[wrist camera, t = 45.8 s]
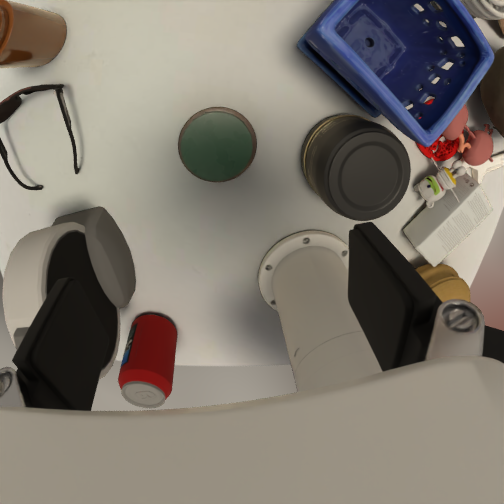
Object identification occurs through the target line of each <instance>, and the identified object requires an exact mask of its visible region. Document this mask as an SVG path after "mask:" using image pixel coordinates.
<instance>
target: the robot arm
mask: <svg viewBox="0 0 504 504" xmlns="http://www.w3.org/2000/svg"><path fill="white" fill-rule="evenodd" d="M304 238H305V239H304ZM258 281H259V288H260V292H261V294H262V296H263V298H264V300H265V301H266V302H267V304H268V305H270V306H271V307H272V308H273V309H275V310H277V311H278V313H279V317H280V321H281V325H282V329H283V334H284V338H285V342H286V346H287V350H288V354H289V358H290V362H291V366H292V371H293V375H294V378H295V383H296V387H297V391H298V392H296V393H291V394H286V395H281V396H275V397H269V398H263V399H257V400H251V401H243V402H236V403H229V404H221V405H212V406H202V407H192V408H180V409H164V410H144V411H91V407H92V404H93V399H94V396H95V392H96V388H97V384H98V381H99V377H100V373H101V370H102V366H103V363H104V359H105V356H106V353H107V349H108V346H109V336H108V334H107V332H106V330H105V329H104V327H103V325H102V323H101V322H100V320H99V318H98V316H97V314H96V313H95V311H94V309H93V307H92V305H91V303H90V301H89V300H88V298H87V296H86V294H85V292H84V290H83V288H82V286H81V284H80V282H79V281H78V280H75V279H74V278H73V277H67V278H62V279H58V280H57V281H56V283H55V284H54V286H53V288H52V289H51V291H50V293H49V294H48V296H47V297H46V299H45V301H44V302H43V304H42V306H41V308H40V309H39V311H38V313H37V314H36V316H35V318H34V320H33V322H32V323H31V325H30V327H29V329H28V331H27V332H26V334H25V336H24V338H23V340H22V342H21V344H20V346H19V348H18V350H17V352H16V354H15V356H14V358H13V360H12V361H13V363H14V364H15V365H16V366H17V368H18V370H17V372H16V371H15V370H14V369H13V368H11V367H5V368H2V369H0V504H504V331H502V330H499V329H495V328H492V327H489V326H485V321H484V316H483V314H482V312H481V310H480V309H479V308H478V307H477V306H475V305H474V304H472V303H471V302H468V301H465V300H461V299H451V300H447V301H445V302H442V301H441V300H440V299H439V297H438V296H437V295H436V294H435V292H434V291H433V290H432V289H431V287H430V286H429V285H428V284H427V283H426V281H425V280H424V279H423V278H422V277H421V276H420V274H419V273H418V272H417V271H416V270H415V268H414V267H413V266H412V265H411V264H410V263H409V262H408V260H407V259H406V258H405V257H404V256H403V255H402V254H401V253H400V252H399V251H398V250H397V248H396V247H395V246H394V245H393V244H392V243H391V242H390V241H389V240H388V239H387V237H386V236H385V235H384V234H383V233H382V232H381V231H380V230H379V229H378V228H377V227H376V226H375V225H374V224H373V223H372V222H367V223H362V224H356V225H355V226H354V229H353V230H350V231H349V248H348V247H347V246H346V244H345V243H344V242H343V241H342V240H341V239H339V238H338V237H337V236H335V235H332V234H330V233H327V232H323V231H304V232H299V233H296V234H293V235H291V236H289V237H287V238H285V239H283V240H281V241H280V242H279V243H277V244H276V245H275V246H274V247H273V248H272V249H271V250H270V251H269V252H268V253H267V255H266V256H265V258H264V259H263V261H262V263H261V266H260V269H259V275H258Z"/></svg>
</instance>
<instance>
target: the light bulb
mask: <svg viewBox="0 0 504 504" xmlns="http://www.w3.org/2000/svg"><path fill="white" fill-rule="evenodd" d="M460 1H461V2H462V4H463V5H464V7H465V8H466V9H467V11H468V12H469V14H470V15H471V16H472V18H473V19H474V18H476V17H477V18H481V19H486V20H493V19H494V20H499V19H504V0H488V2H487V1H486V0H479V1H480V2H481V4H482V5H483V6H484V7H485V8H484V7H483V6H482V5H481V4H480V3H479V1H478V0H460ZM435 3H436V2H435ZM494 4H495V9H494ZM436 5H437V6H438V7H439V8H440V9H441V10H442V8H441V7H440V6H439V5H438V4H437V3H436ZM501 7H502V8H501Z"/></svg>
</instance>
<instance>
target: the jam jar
mask: <svg viewBox="0 0 504 504" xmlns="http://www.w3.org/2000/svg"><path fill="white" fill-rule="evenodd" d="M66 32H67V30H66V24H65V21H64V19H63V18H62V17H61V16H60V15H58V14H56V13H53V12H49V11H46V10H43V9H39V8H36V7H32V6H28V5H25V4H21V3H17V2H12V1H8V0H0V69H1V68H17V67H39V66H43V65H45V64H47V63H49V62H50V61H51V60H53V59H54V58H55V57H56V56H57V54H58V53H59V52H60V50H61V48H62V46H63V44H64V42H65V39H66Z"/></svg>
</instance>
